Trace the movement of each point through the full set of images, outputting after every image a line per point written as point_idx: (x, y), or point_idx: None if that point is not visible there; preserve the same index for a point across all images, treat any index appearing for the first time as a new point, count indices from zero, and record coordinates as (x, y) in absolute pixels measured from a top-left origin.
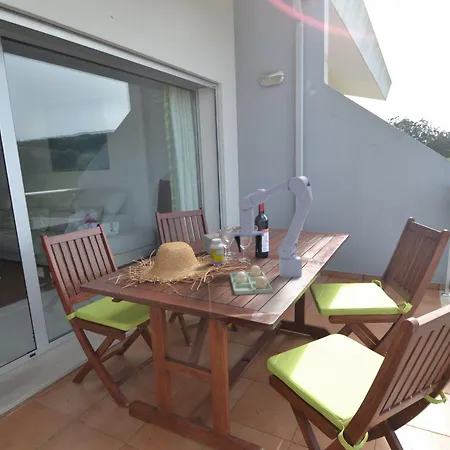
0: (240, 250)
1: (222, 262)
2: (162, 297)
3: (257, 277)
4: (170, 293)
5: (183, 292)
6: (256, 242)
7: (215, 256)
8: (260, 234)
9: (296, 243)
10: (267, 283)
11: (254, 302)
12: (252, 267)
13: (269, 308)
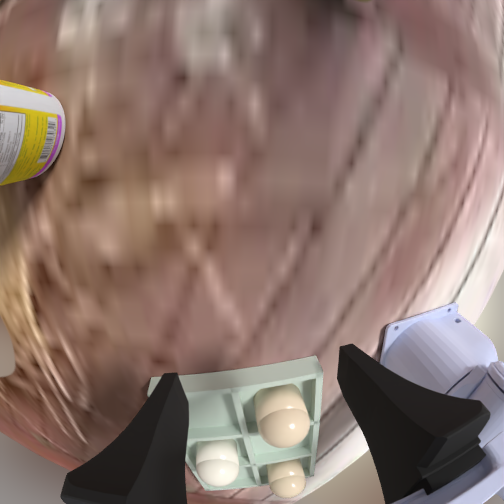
0: (185, 424)
1: (53, 151)
2: (41, 450)
3: (278, 495)
4: (40, 440)
5: (63, 444)
6: (374, 461)
7: None
8: (470, 480)
9: None
10: (310, 453)
11: (257, 488)
12: (271, 445)
13: None
